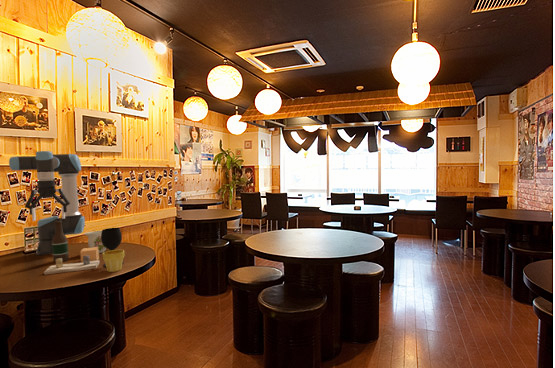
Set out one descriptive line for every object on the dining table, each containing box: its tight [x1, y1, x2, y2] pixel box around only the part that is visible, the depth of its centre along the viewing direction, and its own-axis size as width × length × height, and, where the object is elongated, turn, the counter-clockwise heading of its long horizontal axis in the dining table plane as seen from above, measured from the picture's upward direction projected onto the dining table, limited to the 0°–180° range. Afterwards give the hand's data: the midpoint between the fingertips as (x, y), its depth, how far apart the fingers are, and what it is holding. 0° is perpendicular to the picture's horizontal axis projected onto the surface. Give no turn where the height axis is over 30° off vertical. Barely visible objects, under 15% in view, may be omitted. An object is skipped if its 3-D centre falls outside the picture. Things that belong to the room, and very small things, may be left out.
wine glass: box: [101, 227, 124, 268], centre depth 188 cm, size 10×10×20 cm
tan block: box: [79, 247, 100, 262], centre depth 198 cm, size 8×8×7 cm
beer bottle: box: [52, 221, 70, 263], centre depth 200 cm, size 8×8×24 cm
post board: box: [43, 255, 101, 276], centre depth 184 cm, size 12×24×6 cm, turn 109°
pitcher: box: [83, 230, 107, 254], centre depth 219 cm, size 11×18×14 cm, turn 137°
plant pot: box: [102, 249, 125, 273], centre depth 178 cm, size 10×10×10 cm
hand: (49, 219), depth 181 cm, fingers open, 13 cm apart
